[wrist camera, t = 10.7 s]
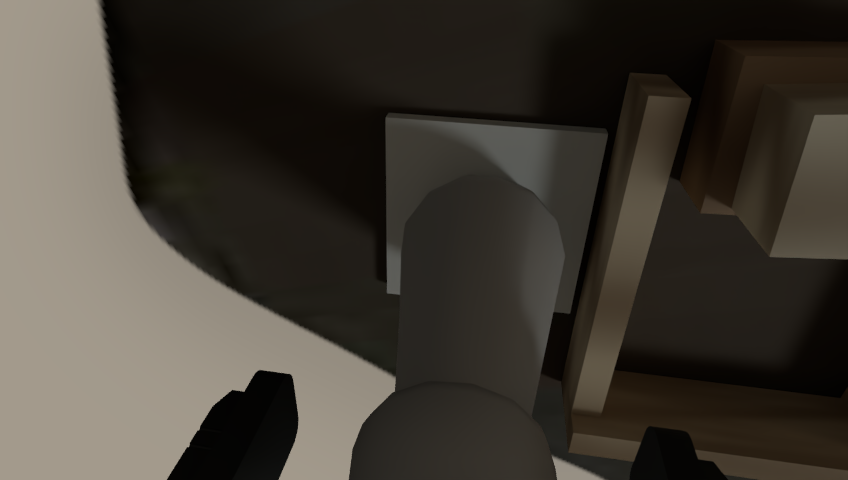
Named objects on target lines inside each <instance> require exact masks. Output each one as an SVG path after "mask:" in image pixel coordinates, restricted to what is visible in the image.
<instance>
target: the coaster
mask: <svg viewBox="0 0 848 480" xmlns="http://www.w3.org/2000/svg"><path fill="white" fill-rule="evenodd" d="M385 119H386V227H387V293H391V294H400V274H401V249H402V242H403V234H404V227H405V223H406V221H407V220H408V219H409V217H410V216H411V215H412V213H413V212H414V211H415V210H416V208H417V207H418V206H419V204H420V203H421V202H422V201H423V199H424V198H425V197H426V195H427V194H428V193H429V192H430V191H432V190H434V189H436V188H438V187H440V186H443V185H445V184H447V183H449V182H451V181H453V180H455V179H457V178H460V177H463V176H467V175H476V176H481V177H494V176H498V177H500V178H503V179H505V180H507V181H510V182H512V183H516V184H519V185H521V186H523V187H525V188H527V189H529V190H531V191H533V192H534V194H535V195H536V196H537V197H538V198H539V199H540V201H541V202H542V203H543V204H544V205H545V206H546V208H547V209H548V210H549V211H550V212H551V213H552V215H553V216H554V217H555V219H556V221H557V223H558V227H559V231H560V236H561V240H562V244H563V249H564V253H565V259H564V264H563V269H562V274H561V278H560V283H559V288H558V293H557V297H556V302H555V307H554V312H559V313H568V314H570V311H571V307H572V302H573V297H574V293H575V288H576V283H577V279H578V274H579V269H580V264H581V260H582V255H583V250H584V246H585V241H586V236H587V232H588V227H589V222H590V217H591V213H592V208H593V203H594V199H595V194H596V189H597V185H598V180H599V175H600V170H601V166H602V161H603V156H604V152H605V147H606V142H607V138H608V132H607V130H606V128H592V127H579V126H565V125H551V124H537V123H524V122H510V121H496V120H483V119H469V118H455V117H441V116H428V115H414V114H400V113H388V115H387V116H386V117H385Z"/></svg>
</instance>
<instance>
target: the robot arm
mask: <svg viewBox="0 0 848 480" xmlns="http://www.w3.org/2000/svg"><path fill="white" fill-rule="evenodd" d="M297 429H298V411H297V404H296V397H295V390H294V383H293V378H292V376H291V375H290V374H284V373H277V372H270V371H263V370H259V371H257V372H256V373H255V375H254V376H253V378H252V379H251V381H250V383H249V385H248V386H247V388H246V390H245V392H242V391H235V390H232V391H231V392H229V393H228V394H227V395H226V396H225V397H223V398H222V399H221V400H220V401H219V402H217V403H216V404H215V405H214V406H213V407H212V409H211V410H210V412H209V413H208V415H207V416H206V418H205V420H204V421H203V423H202V424H201V426H200V430H199V431H197V432H196V434H195V436H194V437H193V439H192V440H191V442H190V446H189V447H187V448H186V450H185V452H184V453H183V455H182V456H181V458H180V460H179V461H178V463H177V464H176V466H175V467H174V469H173V471H172V472H171V474H170V476H169V477H168V479H167V480H278V479H279V477H280V475H281V472H282V470H283V468H284V466H285V463H286V461H287V458H288V456H289V454H290V451H291V449H292V447H293V444H294V442H295V438H296V434H297ZM629 480H728V479H727V478H726V477H725V476H724V474H723V473H722V472H721V470H720V469H719V468H718V467H717V465H716V464H715V463H714V462H713V461H706V460H700V459H698V457H697V454H696V451H695V448H694V445H693V442H692V439H691V437H690V435H689V434H688V432H686V431H682V430H675V429H668V428H661V427H654V426H649V427H647V429H646V431H645V433H644V436H643V439H642V441H641V444H640V447H639V449H638V452H637V454H636V457H635V460H634V462H633V465H632V468H631V472H630V479H629Z"/></svg>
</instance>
